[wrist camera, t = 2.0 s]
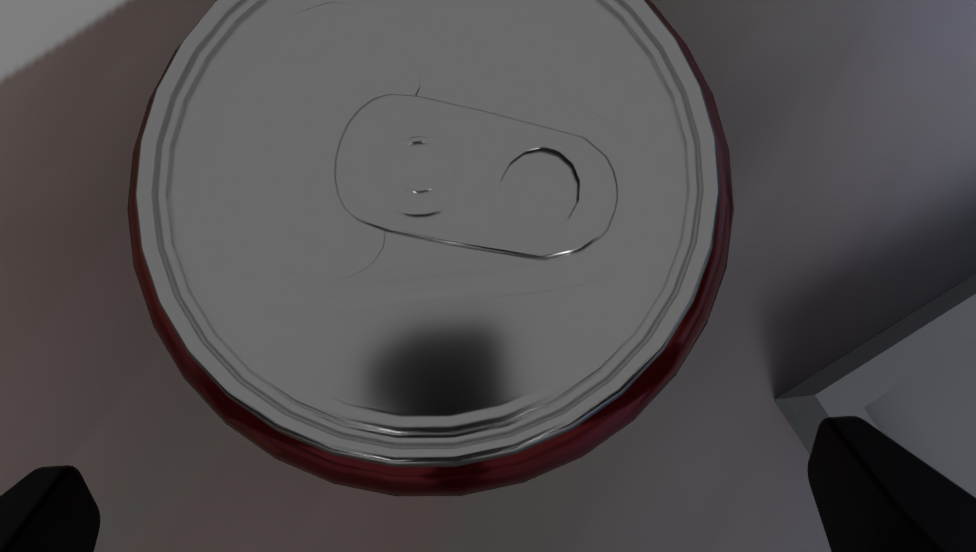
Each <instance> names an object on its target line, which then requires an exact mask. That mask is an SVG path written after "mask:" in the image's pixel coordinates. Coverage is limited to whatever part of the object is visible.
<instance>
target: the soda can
mask: <svg viewBox="0 0 976 552" xmlns="http://www.w3.org/2000/svg"><path fill="white" fill-rule="evenodd" d="M733 213H734V207H733V194H732V181H731V168H730V155H729V149H728V145H727V142H726V139H725V135H724V132H723V128H722V125H721V121H720V118H719V114H718V111H717V107H716V104H715V100H714V97H713V94H712V92H711V90H710V88H709V87H708V85H707V83H706V81H705V79H704V77H703V75H702V73H701V71H700V69H699V67H698V65H697V64H696V62H695V60H694V58H693V56H692V54H691V52H690V50H689V48H688V46H687V45H686V44H685V43H684V41H683V40H682V39H681V38H680V36H679V35H678V34H677V33H676V31H675V30H674V29H673V28H672V26H671V25H670V24H669V23H668V21H667V20H666V19H665V18H664V16H663V15H662V14H661V13H660V11H659V10H658V9H657V8H656V6H655V5H654V4H653V3H652V2H651V1H649V0H217V1H215V2H214V4H213V5H212V6H211V7H210V9H209V10H208V11H207V12H206V13H205V15H204V16H203V17H202V18H201V20H200V21H199V22H198V23H197V25H196V26H195V27H194V28H193V29H192V31H191V32H190V33H189V34H188V36H187V37H186V38H185V39H184V41H183V42H182V43H181V44H180V46H179V47H178V48H177V49H176V51H175V53H174V54H173V56H172V58H171V60H170V62H169V64H168V66H167V67H166V69H165V71H164V73H163V75H162V77H161V79H160V80H159V82H158V84H157V86H156V88H155V90H154V92H153V93H152V95H151V97H150V99H149V102H148V105H147V109H146V112H145V115H144V118H143V122H142V125H141V128H140V132H139V135H138V138H137V141H136V145H135V148H134V151H133V158H132V168H131V178H130V188H129V199H128V218H129V227H130V236H131V246H132V255H133V264H134V269H135V272H136V275H137V278H138V281H139V284H140V287H141V290H142V293H143V296H144V299H145V302H146V305H147V308H148V311H149V314H150V317H151V320H152V323H153V326H154V328H155V330H156V332H157V333H158V335H159V337H160V338H161V340H162V342H163V344H164V345H165V347H166V349H167V350H168V352H169V354H170V355H171V357H172V359H173V361H174V362H175V364H176V366H177V367H178V369H179V371H180V372H181V374H182V376H183V378H184V379H185V380H186V381H187V382H188V383H189V384H190V385H191V387H192V388H193V389H194V390H195V391H196V392H197V393H198V394H199V395H200V396H201V397H202V398H203V400H204V401H205V402H206V403H207V404H208V405H209V406H210V407H211V408H212V409H213V410H214V411H215V413H216V414H217V415H218V416H219V417H220V418H221V419H222V420H223V421H224V422H225V423H226V424H227V425H229V426H230V427H231V428H233V429H234V430H236V431H237V432H239V433H240V434H241V435H243V436H244V437H246V438H247V439H248V440H250V441H251V442H253V443H254V444H256V445H257V446H258V447H260V448H261V449H263V450H264V451H265V452H267V453H268V454H270V455H271V456H273V457H274V458H275V459H278V460H280V461H282V462H285V463H287V464H289V465H291V466H294V467H296V468H298V469H301V470H303V471H305V472H308V473H310V474H312V475H315V476H317V477H319V478H322V479H324V480H326V481H329V482H331V483H333V484H338V485H343V486H348V487H353V488H358V489H363V490H368V491H373V492H378V493H383V494H388V495H393V496H462V495H467V494H472V493H476V492H481V491H486V490H490V489H495V488H500V487H504V486H509V485H514V484H518V483H523V482H526V481H528V480H530V479H533V478H535V477H537V476H539V475H542V474H544V473H546V472H549V471H551V470H553V469H555V468H558V467H560V466H562V465H564V464H567V463H569V462H571V461H574V460H576V459H578V458H580V457H583V456H584V455H585V454H587V453H588V452H590V451H591V450H592V449H594V448H595V447H597V446H598V445H599V444H601V443H602V442H604V441H605V440H607V439H608V438H609V437H611V436H612V435H614V434H615V433H616V432H618V431H619V430H621V429H622V428H623V427H625V426H626V425H628V424H629V423H630V422H632V421H633V420H634V419H635V418H636V417H637V416H638V415H639V414H640V413H641V412H642V411H643V410H644V409H645V408H646V406H647V405H648V404H649V403H650V402H651V401H652V400H653V399H654V398H655V397H656V396H657V395H658V394H659V392H660V391H661V390H662V389H663V388H664V387H665V386H666V385H667V384H668V383H669V382H670V381H671V380H672V378H673V377H674V376H675V375H676V374H677V372H678V370H679V369H680V367H681V365H682V364H683V362H684V360H685V359H686V357H687V356H688V354H689V352H690V351H691V349H692V347H693V346H694V344H695V342H696V341H697V339H698V337H699V336H700V334H701V332H702V331H703V329H704V327H705V326H706V324H707V322H708V319H709V316H710V313H711V310H712V307H713V305H714V302H715V299H716V296H717V293H718V290H719V287H720V284H721V282H722V279H723V276H724V273H725V270H726V267H727V259H728V251H729V244H730V236H731V228H732V220H733Z"/></svg>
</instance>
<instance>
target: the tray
mask: <svg viewBox="0 0 976 552" xmlns="http://www.w3.org/2000/svg"><path fill="white" fill-rule="evenodd" d="M774 400H775V402H776V403H777V405H778V406H779V408H780V409H781V411H782V412H783V414H784V415H785V417H786V418H787V420H788V421H789V423H790V424H791V426H792V427H793V429H794V430H795V432H796V433H797V435H798V436H799V438H800V439H801V441H802V442H803V444H804V445H805V447H806V448H807V450H808V451H809V453H810V454H811V451H812V447H813V444H814V440H815V437H816V433H817V430H818V426H819V424H820V422H821V421H822V420H823V419H824V418H827V417H840V416H857V417H860V418H862V419H864V420H865V421H867V422H868V423H870V424H871V425H872V426H874V427H875V428H877V429H878V430H880V431H881V432H882V433H884V434H885V435H887V436H888V437H890V438H891V439H892V440H894V441H895V442H897V443H898V444H900V445H901V446H902V447H904V448H905V449H907V450H908V451H910V452H911V453H913V454H914V455H915V456H917V457H918V458H920V459H921V460H923V461H924V462H925V463H927V464H928V465H930V466H931V467H933V468H934V469H935V470H937V471H938V472H940V473H941V474H943V475H944V476H945V477H947V478H948V479H950V480H951V481H953V482H954V483H955V484H957V485H958V486H960V487H961V488H963V489H964V490H965V491H967V492H968V493H970V494H971V495H973V496H974V497H975V498H976V273H975V274H973V275H972V276H970V277H969V278H967V279H965V280H964V281H962V282H961V283H959V284H958V285H956V286H954V287H953V288H951V289H950V290H948V291H946V292H945V293H943V294H942V295H940V296H938V297H937V298H935V299H934V300H932V301H930V302H929V303H927V304H926V305H924V306H922V307H921V308H919V309H918V310H916V311H914V312H913V313H911V314H910V315H908V316H907V317H905V318H903V319H902V320H900V321H899V322H897V323H895V324H894V325H892V326H891V327H889V328H887V329H886V330H884V331H883V332H881V333H879V334H878V335H876V336H875V337H873V338H871V339H870V340H868V341H867V342H865V343H863V344H862V345H860V346H859V347H857V348H856V349H854V350H852V351H851V352H849V353H848V354H846V355H844V356H843V357H841V358H840V359H838V360H836V361H835V362H833V363H832V364H830V365H828V366H827V367H825V368H824V369H822V370H820V371H819V372H817V373H816V374H814V375H812V376H811V377H809V378H808V379H806V380H805V381H803V382H801V383H800V384H798V385H797V386H795V387H793V388H792V389H790V390H789V391H787V392H785V393H784V394H782V395H781V396H779V397H777V398H776V399H774Z"/></svg>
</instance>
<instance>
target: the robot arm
mask: <svg viewBox="0 0 976 552" xmlns="http://www.w3.org/2000/svg"><path fill="white" fill-rule="evenodd" d="M808 479H809V483H810V486H811V490H812V493H813V496H814V499H815V502H816V505H817V508H818V511H819V514H820V517H821V520H822V524H823V527H824V530H825V533H826V536H827V539H828V542H829V545H830V548H831V551H832V552H976V498H975V497H974V496H973V495H971V494H970V493H968V492H967V491H965V490H964V489H963V488H961V487H960V486H958V485H957V484H955V483H954V482H953V481H951V480H950V479H948V478H947V477H945V476H944V475H943V474H941V473H940V472H938V471H937V470H935V469H934V468H933V467H931V466H930V465H928V464H927V463H925V462H924V461H923V460H921V459H920V458H918V457H917V456H915V455H914V454H913V453H911V452H910V451H908V450H907V449H905V448H904V447H902V446H901V445H900V444H898V443H897V442H895V441H894V440H892V439H891V438H890V437H888V436H887V435H885V434H884V433H882V432H881V431H880V430H878V429H877V428H875V427H874V426H872V425H871V424H870V423H868V422H867V421H865V420H864V419H862V418H860V417H857V416H840V417H827V418H824V419H823V420H822V421H821V422H820V424H819V426H818V430H817V433H816V437H815V440H814V444H813V447H812V451H811V454H810V458H809V461H808ZM99 528H100V513H99V509H98V506H97V504H96V502H95V500H94V498H93V497H92V495H91V493H90V491H89V489H88V487H87V485H86V483H85V481H84V479H83V477H82V475H81V473H80V472H79V470H78V469H76V468H75V467H73V466H69V465H66V466H50V467H41V468H38V469H35V470H34V471H32V472H31V473H29V474H28V475H27V476H25V477H24V478H23V479H22V480H20V481H19V482H18V483H17V484H15V485H14V486H13V487H12V488H10V489H9V490H8V491H6V492H5V493H4V494H3V495H1V496H0V552H94V548H95V545H96V541H97V537H98V533H99Z"/></svg>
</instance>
